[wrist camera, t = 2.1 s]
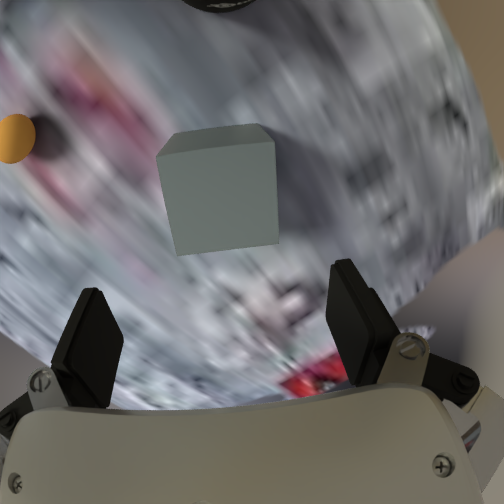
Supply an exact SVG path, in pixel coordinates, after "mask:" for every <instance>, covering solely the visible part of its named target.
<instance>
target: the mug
mask: <svg viewBox="0 0 504 504" xmlns="http://www.w3.org/2000/svg"><path fill="white" fill-rule="evenodd" d="M182 1H184V2H185V3H187V4H188V5H190V6H192V7H194V8H196V9H199V10H202V11H206V12H213V13H223V12H230V11H234V10H237V9H240V8H243V7H245V6H247V5H249V4H250V3H252V2H254V1H255V0H182Z"/></svg>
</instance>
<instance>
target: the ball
mask: <svg viewBox="0 0 504 504" xmlns="http://www.w3.org/2000/svg"><path fill="white" fill-rule="evenodd" d="M35 136H36V133H35V127H34V125H33V123H32V121H31V120H30V119H29V118H28V117H26V116H25V115H22V114H13V115H10V116H8V117H6V118H4V119H3V120H2V121H1V122H0V161H2V162H4V163H7V164H13V163H17V162H19V161H21V160H23V159H24V158H25V157H26V156H27V155H28V154H29V153H30V151H31V150H32V148H33V145H34V143H35Z"/></svg>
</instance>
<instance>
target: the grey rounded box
mask: <svg viewBox="0 0 504 504" xmlns="http://www.w3.org/2000/svg"><path fill="white" fill-rule="evenodd" d="M156 161H157V166H158V171H159V176H160V182H161V187H162V191H163V196H164V201H165V206H166V210H167V215H168V220H169V224H170V228H171V233H172V237H173V241H174V245H175V250H176V254H177V256H182V255H191V254H199V253H207V252H215V251H223V250H231V249H239V248H248V247H256V246H264V245H272V244H279V226H278V200H277V177H276V157H275V141H274V140H273V139H272V138H271V137H270V136H269V135H268V134H267V133H266V132H265V131H264V130H263V129H262V128H261V127H260V126H259V124H258V123H256V124H245V125H235V126H225V127H217V128H209V129H202V130H194V131H188V132H181V133H175V134H173V136H172V137H171V138H170V139H169V141H168V142H167V143H166V144H165V146H164V147H163V148H162V149H161V151H160V152H159V153H158V154H157V156H156Z"/></svg>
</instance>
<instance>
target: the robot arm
mask: <svg viewBox="0 0 504 504" xmlns="http://www.w3.org/2000/svg"><path fill="white" fill-rule="evenodd" d="M326 321H327V324H328V326H329V329H330V331H331V334H332V336H333V339H334V341H335V344H336V347H337V349H338V352H339V354H340V357H341V360H342V362H343V365H344V368H345V370H346V373H347V376H348V378H349V381H350V383H351V384H352V385H356V388H351V389H346V390H341V391H337V392H331V393H326V394H320V395H315V396H309V397H303V398H298V399H291V400H285V401H278V402H272V403H263V404H256V405H247V406H236V407H225V408H212V409H194V410H119V409H106V407H109V405H110V400H111V395H112V391H113V386H114V381H115V377H116V372H117V368H118V363H119V359H120V355H121V351H122V347H123V343H124V338H123V334H122V332H121V330H120V328H119V326H118V324H117V322H116V320H115V318H114V316H113V314H112V312H111V310H110V308H109V306H108V303H107V301H106V299H105V297H104V295H103V292H102V291H100V290H98V288H96V287H93V288H85V289H83V290H82V292H81V294H80V297H79V299H78V301H77V303H76V305H75V307H74V309H73V311H72V313H71V315H70V318H69V320H68V322H67V324H66V327H65V329H64V331H63V333H62V336H61V338H60V340H59V343H58V345H57V348H56V350H55V353H54V355H53V358H52V360H51V364H52V365H51V368H49V367H40V368H38V369H36V370H35V371H33V372H32V373H31V375H30V376H29V378H28V381H27V390H28V391H27V392H26V393H25V394H23V395H22V396H21V397H19V398H18V399H16V400H15V401H14V402H12V403H11V404H10V405H8V406H7V407H6V408H4V409H3V410H2V411H1V412H0V504H484V502H483V498H482V494H481V493H482V492H483V490H484V489H485V487H486V486H487V484H488V483H489V481H490V479H491V477H492V476H493V474H494V473H495V471H496V470H497V468H498V466H499V464H500V463H501V460H502V459H503V457H504V399H503V398H502V397H500V396H499V395H498V394H496V393H495V392H493V391H492V390H491V389H489V388H488V387H487V386H484V388H483V387H481V386H480V382H479V378H478V376H477V374H476V373H475V372H474V371H473V370H471V369H470V368H468V367H465V366H463V365H460V364H458V363H455V362H452V361H450V360H447V359H444V358H442V357H439V356H437V355H434V354H432V353H429V352H430V351H429V350H430V348H429V345H428V343H427V341H426V340H425V339H424V338H423V337H422V336H420V335H418V334H416V333H411V332H405V333H400V331H399V329H398V328H397V326H396V325H395V323H394V321H393V319H392V318H391V316H390V314H389V313H388V311H387V309H386V308H385V306H384V304H383V303H382V301H381V299H380V298H379V296H378V295H377V293H376V291H375V290H374V289H373V288H369V287H368V286H367V284H366V283H365V281H364V279H363V278H362V276H361V275H360V273H359V271H358V270H357V268H356V267H355V265H354V264H353V262H352V261H351V259H342V260H336V261H335V264H332V265H331V269H330V279H329V289H328V298H327V306H326Z"/></svg>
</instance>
